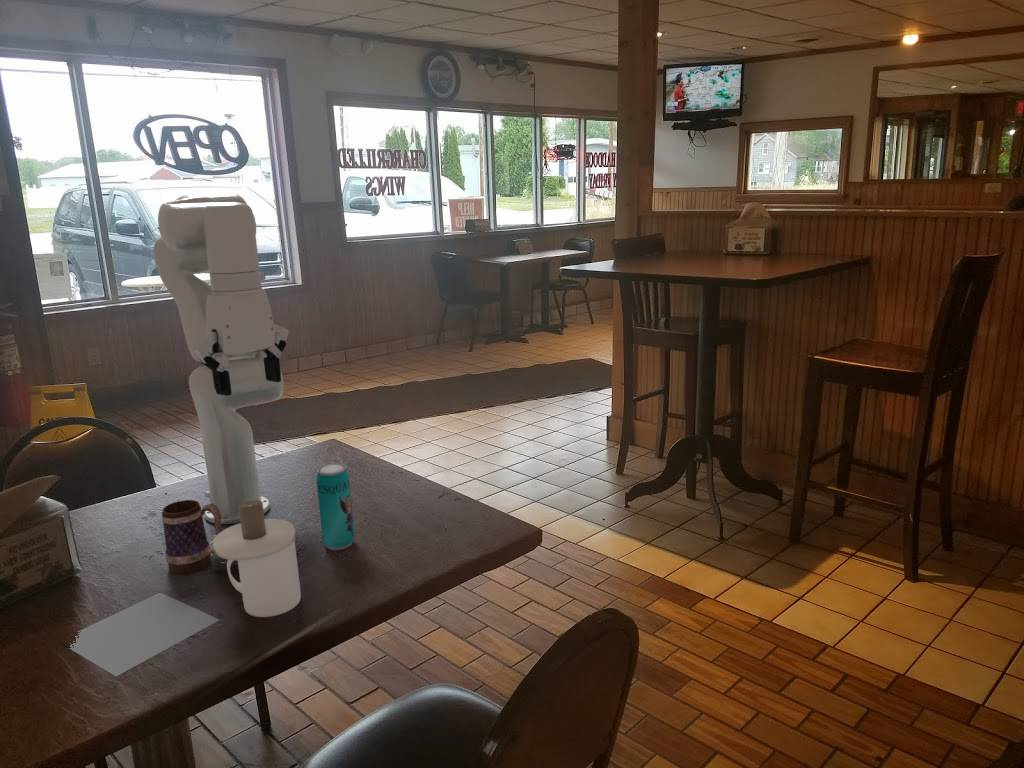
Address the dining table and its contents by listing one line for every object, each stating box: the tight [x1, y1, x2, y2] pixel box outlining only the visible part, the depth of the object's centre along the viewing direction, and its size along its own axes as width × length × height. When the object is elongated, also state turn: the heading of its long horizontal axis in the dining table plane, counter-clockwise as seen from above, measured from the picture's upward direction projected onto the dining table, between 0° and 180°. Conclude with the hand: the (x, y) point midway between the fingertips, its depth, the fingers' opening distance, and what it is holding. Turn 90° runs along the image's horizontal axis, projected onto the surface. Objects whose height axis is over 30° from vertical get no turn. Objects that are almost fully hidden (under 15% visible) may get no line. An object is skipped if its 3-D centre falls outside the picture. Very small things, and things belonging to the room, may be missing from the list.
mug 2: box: [226, 539, 302, 618], centre depth 116 cm, size 9×12×11 cm
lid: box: [212, 500, 296, 561], centre depth 114 cm, size 12×12×6 cm
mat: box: [68, 592, 221, 678], centre depth 111 cm, size 16×16×1 cm
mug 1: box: [161, 499, 223, 576], centre depth 129 cm, size 10×7×12 cm
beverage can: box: [315, 462, 355, 551], centre depth 135 cm, size 6×6×15 cm
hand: (249, 387), depth 122 cm, fingers open, 9 cm apart
